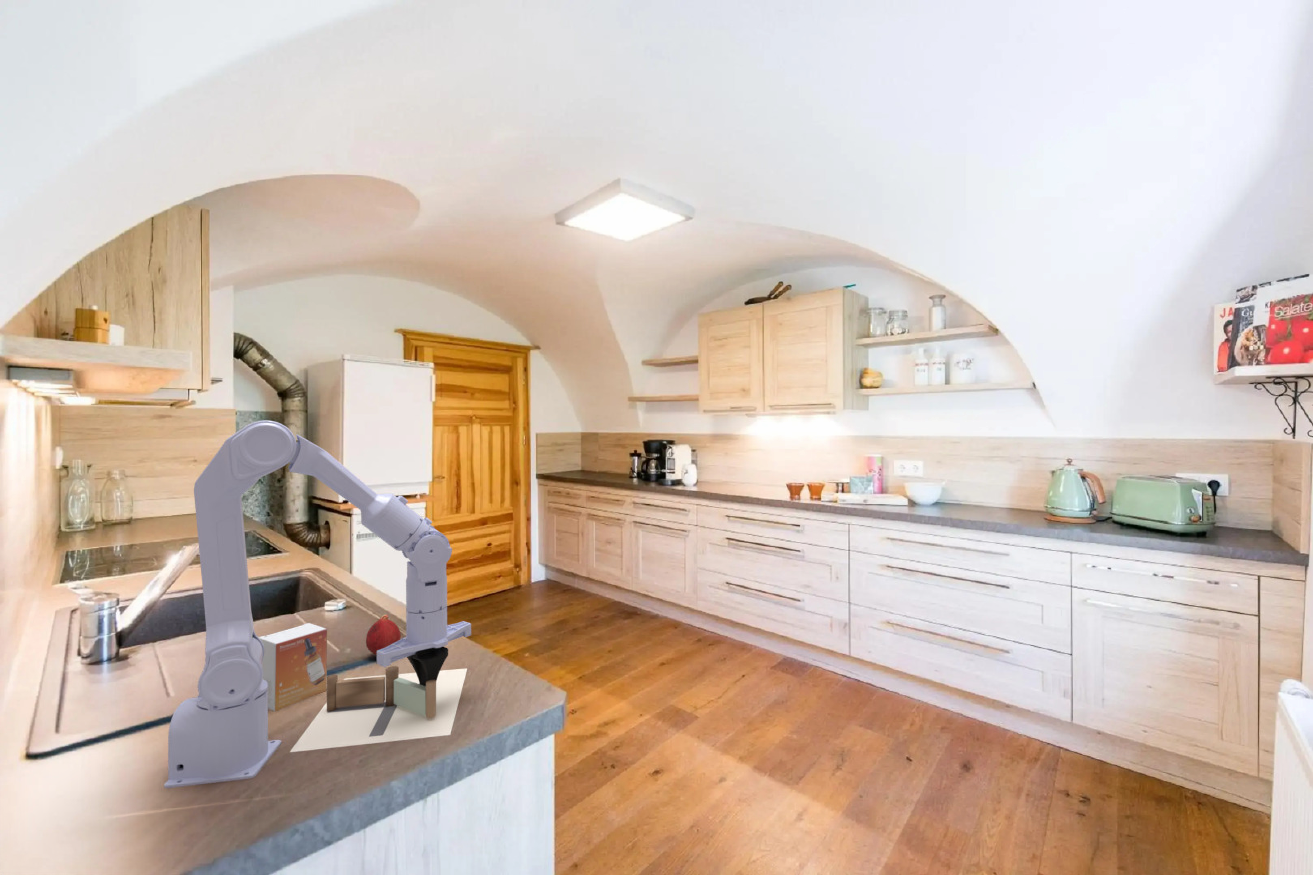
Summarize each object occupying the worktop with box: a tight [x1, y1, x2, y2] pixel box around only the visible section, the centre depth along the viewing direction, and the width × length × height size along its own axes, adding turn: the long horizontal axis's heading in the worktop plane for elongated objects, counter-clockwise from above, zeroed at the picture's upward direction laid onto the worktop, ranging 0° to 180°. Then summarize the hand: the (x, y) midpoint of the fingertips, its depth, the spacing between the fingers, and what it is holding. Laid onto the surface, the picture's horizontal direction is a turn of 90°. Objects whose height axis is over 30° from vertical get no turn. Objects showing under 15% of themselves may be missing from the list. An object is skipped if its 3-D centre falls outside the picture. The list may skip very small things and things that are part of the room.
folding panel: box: [394, 677, 436, 718], centre depth 83 cm, size 8×1×5 cm, turn 61°
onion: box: [365, 614, 402, 656], centre depth 104 cm, size 6×6×8 cm
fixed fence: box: [326, 665, 400, 712], centre depth 84 cm, size 10×2×6 cm, turn 103°
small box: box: [258, 622, 328, 712], centre depth 88 cm, size 8×6×10 cm
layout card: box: [289, 667, 468, 753], centre depth 85 cm, size 20×22×1 cm
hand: (427, 696), depth 83 cm, fingers closed
